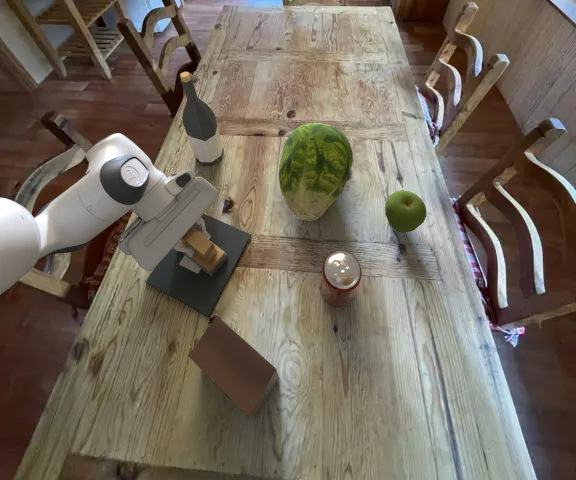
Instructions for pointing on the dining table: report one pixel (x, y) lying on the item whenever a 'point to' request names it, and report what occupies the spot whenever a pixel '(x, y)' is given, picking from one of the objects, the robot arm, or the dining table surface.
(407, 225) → the apple
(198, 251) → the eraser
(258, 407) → the walnut block
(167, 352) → the dining table surface
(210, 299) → the slate board
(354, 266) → the soda can
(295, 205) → the lettuce
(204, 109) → the wine bottle
